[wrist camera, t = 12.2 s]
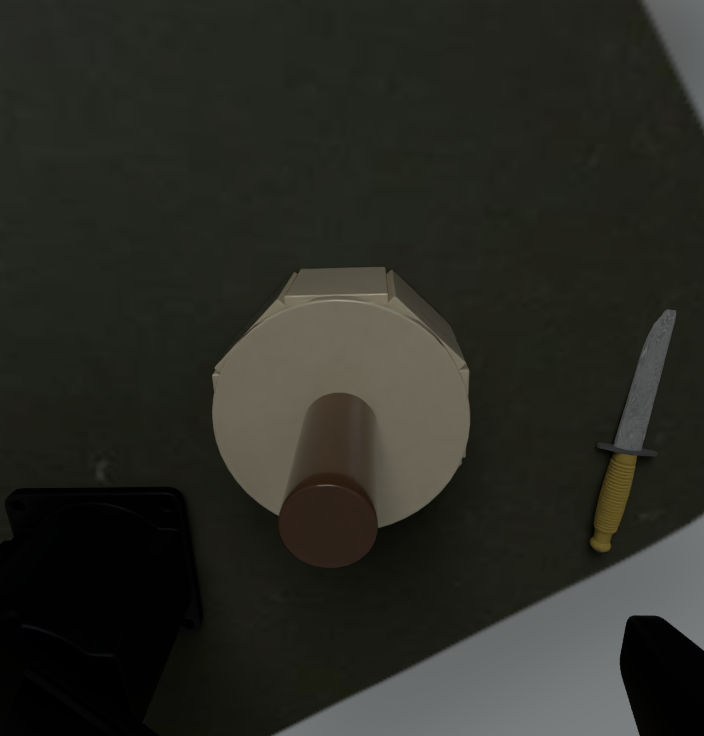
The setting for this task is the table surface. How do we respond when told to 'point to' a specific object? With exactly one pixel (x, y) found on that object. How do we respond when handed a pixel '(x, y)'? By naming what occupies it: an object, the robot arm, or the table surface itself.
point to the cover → (342, 409)
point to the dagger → (631, 434)
